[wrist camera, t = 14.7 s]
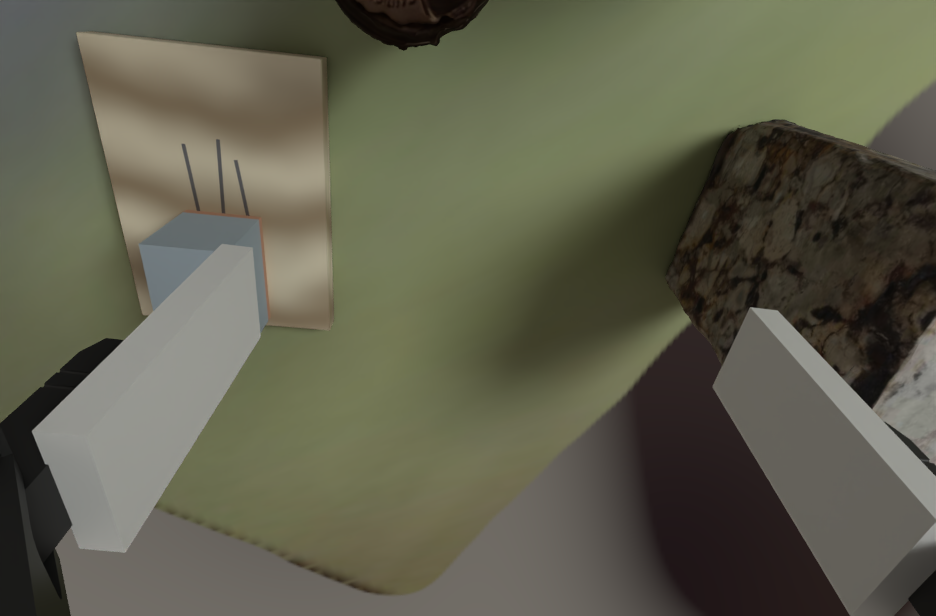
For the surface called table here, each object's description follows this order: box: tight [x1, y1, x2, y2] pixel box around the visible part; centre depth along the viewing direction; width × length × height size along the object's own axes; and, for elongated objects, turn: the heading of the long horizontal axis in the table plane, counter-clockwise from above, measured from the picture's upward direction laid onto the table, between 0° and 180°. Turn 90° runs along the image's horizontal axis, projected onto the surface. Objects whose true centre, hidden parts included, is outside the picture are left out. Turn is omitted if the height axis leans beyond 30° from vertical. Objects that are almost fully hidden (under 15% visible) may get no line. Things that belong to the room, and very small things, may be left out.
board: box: [76, 31, 334, 330], centre depth 36 cm, size 19×14×2 cm
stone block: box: [665, 120, 936, 465], centre depth 29 cm, size 13×7×20 cm, turn 172°
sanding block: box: [139, 210, 270, 333], centre depth 35 cm, size 8×5×6 cm, turn 174°
